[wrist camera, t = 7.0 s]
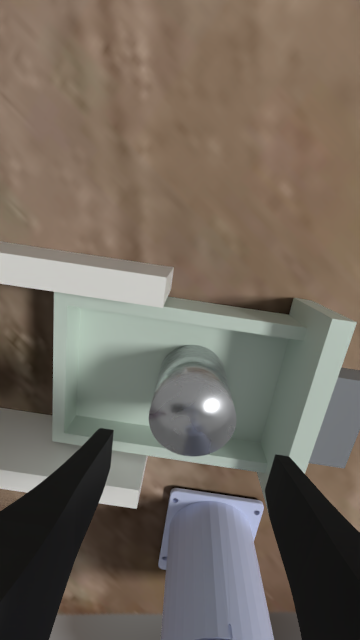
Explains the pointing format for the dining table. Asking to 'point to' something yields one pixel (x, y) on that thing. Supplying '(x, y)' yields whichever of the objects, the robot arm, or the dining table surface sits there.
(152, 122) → the dining table surface
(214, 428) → the brushed steel cylinder
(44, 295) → the dining table surface
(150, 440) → the tray
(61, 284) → the white drawer housing
